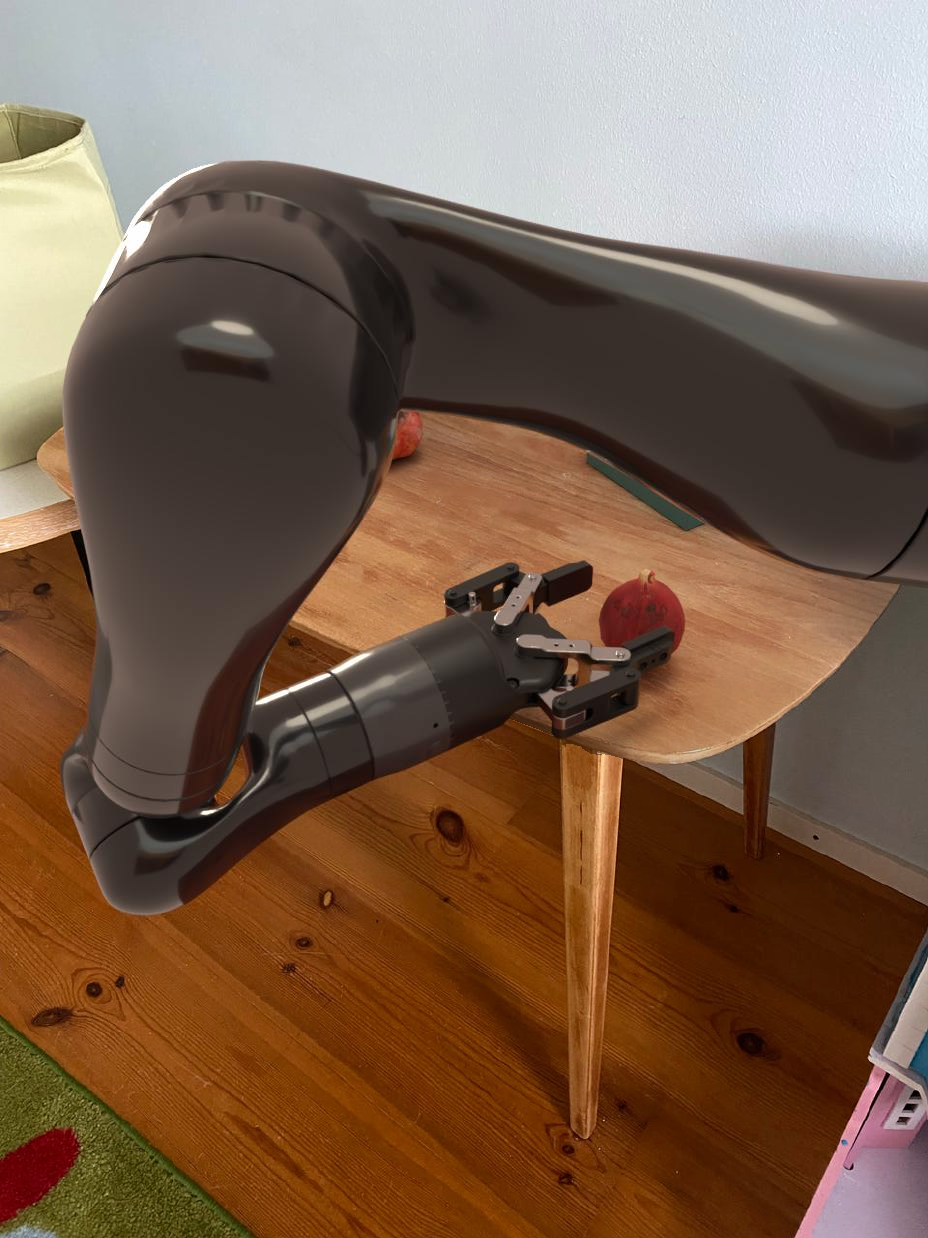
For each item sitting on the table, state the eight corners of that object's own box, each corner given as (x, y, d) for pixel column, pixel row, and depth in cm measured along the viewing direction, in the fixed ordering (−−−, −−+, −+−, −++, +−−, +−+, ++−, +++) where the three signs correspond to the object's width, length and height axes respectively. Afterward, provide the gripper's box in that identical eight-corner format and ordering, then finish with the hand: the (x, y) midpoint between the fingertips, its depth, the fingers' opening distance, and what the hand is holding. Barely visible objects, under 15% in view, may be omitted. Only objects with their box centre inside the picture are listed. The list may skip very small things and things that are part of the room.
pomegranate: (338, 476, 96) (363, 456, 87) (325, 402, 96) (348, 374, 86) (410, 467, 98) (442, 447, 89) (398, 395, 98) (428, 367, 89)
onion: (684, 691, 67) (698, 598, 62) (600, 692, 68) (606, 600, 63) (672, 637, 72) (684, 546, 67) (593, 638, 72) (599, 548, 67)
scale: (790, 489, 87) (796, 458, 85) (686, 531, 83) (690, 499, 81) (684, 427, 97) (688, 398, 95) (586, 462, 92) (587, 432, 90)
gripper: (474, 722, 52) (708, 616, 58) (355, 588, 62) (566, 509, 68) (478, 815, 57) (694, 708, 63) (367, 677, 66) (564, 595, 73)
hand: (628, 604), depth 65 cm, fingers open, 8 cm apart
